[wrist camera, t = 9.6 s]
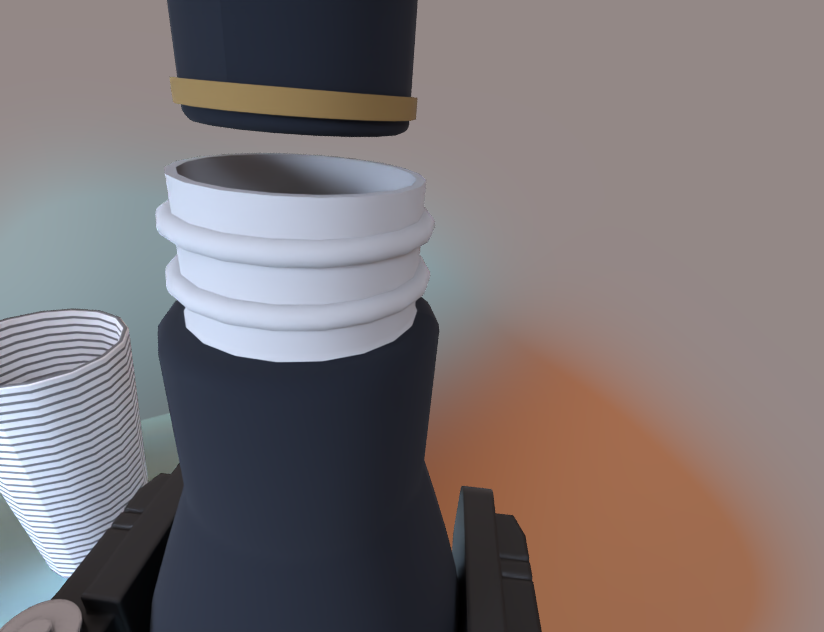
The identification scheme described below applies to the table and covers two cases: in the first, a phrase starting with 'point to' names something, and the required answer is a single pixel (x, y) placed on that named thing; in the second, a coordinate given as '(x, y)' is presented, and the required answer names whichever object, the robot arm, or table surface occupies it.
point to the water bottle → (299, 333)
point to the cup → (68, 429)
